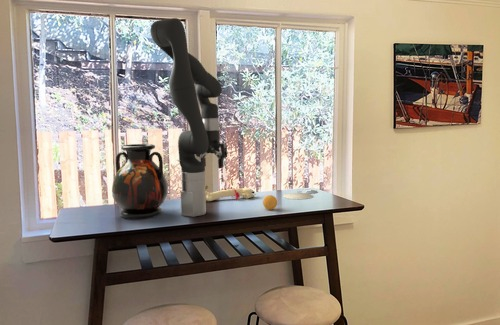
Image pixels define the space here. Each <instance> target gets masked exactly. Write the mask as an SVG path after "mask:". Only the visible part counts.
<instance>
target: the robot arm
mask: <svg viewBox="0 0 500 325" xmlns="http://www.w3.org/2000/svg"><path fill="white" fill-rule="evenodd" d="M149 33H150V36H151V39H152V41H153V42H154V43H155V45H156V46H157V47H158V48H159V49H160V50H162V51H163V52H164V53H165V54H166V55H167V56H168V57H170V59H172V60H173V65H172V68H171V73H170V75H169V81H168V86H169V91H170V95H171V98H172V99H171V100H172V103H173V104H174V105H175V107H176V108H177V109H178V111H179V112H180V114H182V115H183V117H184V119H185V120H186V121H187V123H188V126H189V129H190V130H184V131H182V132H181V133H180V134H179V136H178V139H177V140H178V141H177V148H178V161H179V166H180V168H181V192H180V206H181V207H180V208H181V209H180V210H181V216H185V217H192V218H193V217H194V218H195V217H197V216H198V217H199V216H200V217H201V216H204V215H205V214H206V213H207V206H206V205H207V202H206V201H207V200H206V196H207V193H205V185H206V166H207V162H206V159H207V158H206V156H207V155H208V154H214V155H215V156H216V157H217V158H218V159H217V164H218V165H217V166H218V169H223V167H224V159H226V158H228V148H227V147H228V146H227V143H225V142H223V143H221V142H220V140H221V134H220V133H221V131H220V121H219V120H220V119H219V106H218V104H216V103H213V102H211V101H210V99H211V98H212V99H213V98H214V99H215V98H218V97H220V96H221V94H222V90H223V89H222V88H223V87H222V84H221V83H220V81H219V80H218V79H217V78H216V77H214V75H212V74H211V73H210V72H208V71H207V70H206V69H205V67H204V66H203V65H202V63H201V62H200V60H199V59H198V58H196V57H195V56H194V55H192V54H191V53H190V52H189V50H188V43H187V42H188V41H187V34H186V28H185V26H184V23H183V22H182V21H181V20H180V19H179V18H177V17H174V18H164V19H159V20H156V21H153V23H152V24H151V25H150V32H149ZM195 85H196V86H195ZM197 157H198V158H199V159H197Z"/></svg>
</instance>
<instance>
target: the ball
mask: <svg viewBox="0 0 500 325" xmlns="http://www.w3.org/2000/svg"><path fill="white" fill-rule="evenodd" d="M262 205H263V207H264V208H265V209H266V210H269V211H272V210H274V209H275V208H277V205H278V199H277V198H276V197H275V196H274V195H272V194H270V195H266V196H265V197H264V198H263V199H262Z"/></svg>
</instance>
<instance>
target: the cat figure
mask: <svg viewBox="0 0 500 325" xmlns="http://www.w3.org/2000/svg"><path fill="white" fill-rule="evenodd" d="M208 188H209V187H208V185H207V184H205V194H206V203H207V201H208V202H212V201H214V200H219V199H222V198H228V197H231V198H233V197H235V201H238V199H239V198H240V197H242V198H244V199H249V198H254V197H255V196H256V193H255V192H256V191H254V190H253V189H252V188H249V187H243V188H233V187H232V186H231V187H230V189H228V188H227V189H224V190H217V191H213V192H209V191H208V190H207V189H208Z"/></svg>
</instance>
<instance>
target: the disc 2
mask: <svg viewBox="0 0 500 325" xmlns="http://www.w3.org/2000/svg"><path fill="white" fill-rule="evenodd" d="M300 190H301V189H298V190H297V191H296V193H302V191H300ZM310 190H311V191H307V192H306V193H305V194H310V195H313V194H312V193H314V194H317V193H318V191H317V190H314V189H310Z"/></svg>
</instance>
